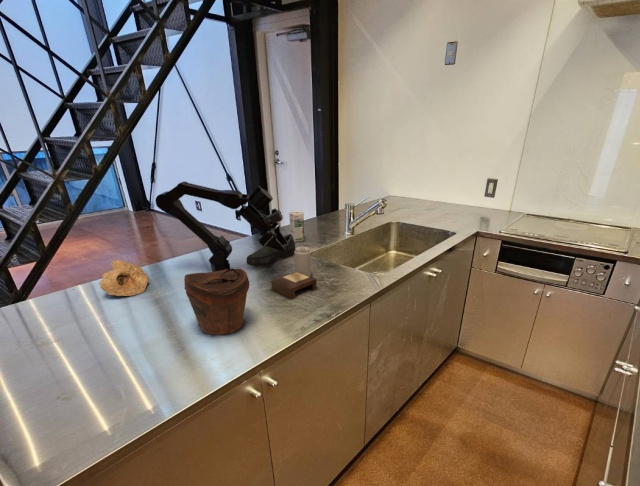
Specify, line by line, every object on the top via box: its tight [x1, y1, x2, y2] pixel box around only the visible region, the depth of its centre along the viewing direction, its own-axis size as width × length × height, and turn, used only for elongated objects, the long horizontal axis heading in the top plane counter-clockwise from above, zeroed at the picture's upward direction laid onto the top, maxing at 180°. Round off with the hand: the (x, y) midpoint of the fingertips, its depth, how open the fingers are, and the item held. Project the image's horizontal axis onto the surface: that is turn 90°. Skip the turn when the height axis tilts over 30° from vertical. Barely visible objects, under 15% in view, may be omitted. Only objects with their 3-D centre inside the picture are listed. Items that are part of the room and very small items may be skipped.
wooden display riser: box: [270, 271, 317, 300], centre depth 142 cm, size 13×11×4 cm
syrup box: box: [288, 210, 305, 243], centre depth 196 cm, size 6×6×14 cm
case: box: [183, 268, 250, 336], centre depth 114 cm, size 18×20×18 cm
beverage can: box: [293, 246, 312, 277], centre depth 152 cm, size 6×6×12 cm
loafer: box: [245, 233, 296, 268], centre depth 168 cm, size 10×29×10 cm, turn 152°
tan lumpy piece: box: [98, 258, 150, 297], centre depth 139 cm, size 18×14×8 cm
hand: (285, 247), depth 148 cm, fingers open, 9 cm apart
